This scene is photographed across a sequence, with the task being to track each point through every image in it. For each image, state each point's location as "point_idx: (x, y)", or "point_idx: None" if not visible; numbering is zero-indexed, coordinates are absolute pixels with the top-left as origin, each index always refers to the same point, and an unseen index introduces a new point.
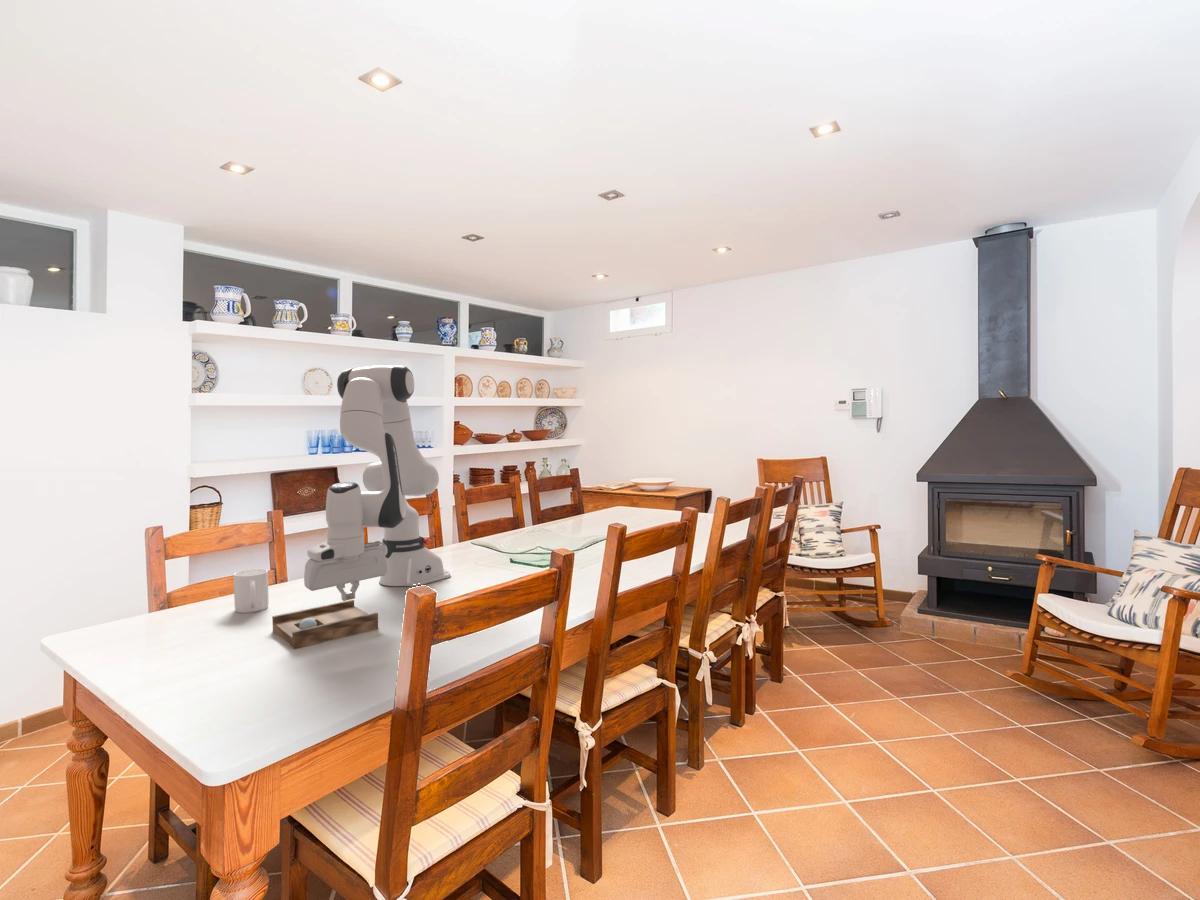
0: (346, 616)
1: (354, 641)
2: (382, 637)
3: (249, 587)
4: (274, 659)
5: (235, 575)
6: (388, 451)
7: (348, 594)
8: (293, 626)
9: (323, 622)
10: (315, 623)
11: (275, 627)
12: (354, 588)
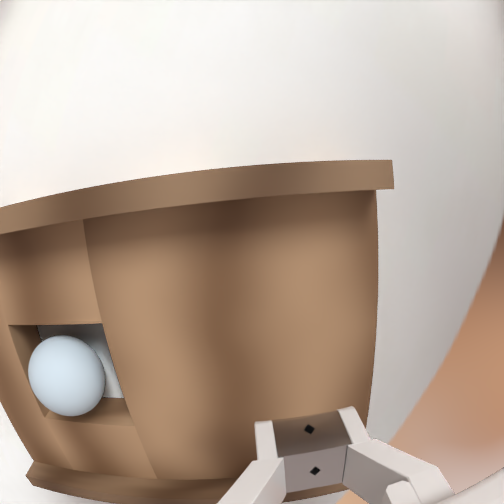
0: (263, 379)
1: None
2: (314, 500)
3: None
4: (22, 465)
5: None
6: None
7: (302, 485)
8: (11, 355)
9: (131, 397)
10: (92, 406)
11: None
12: (368, 501)
